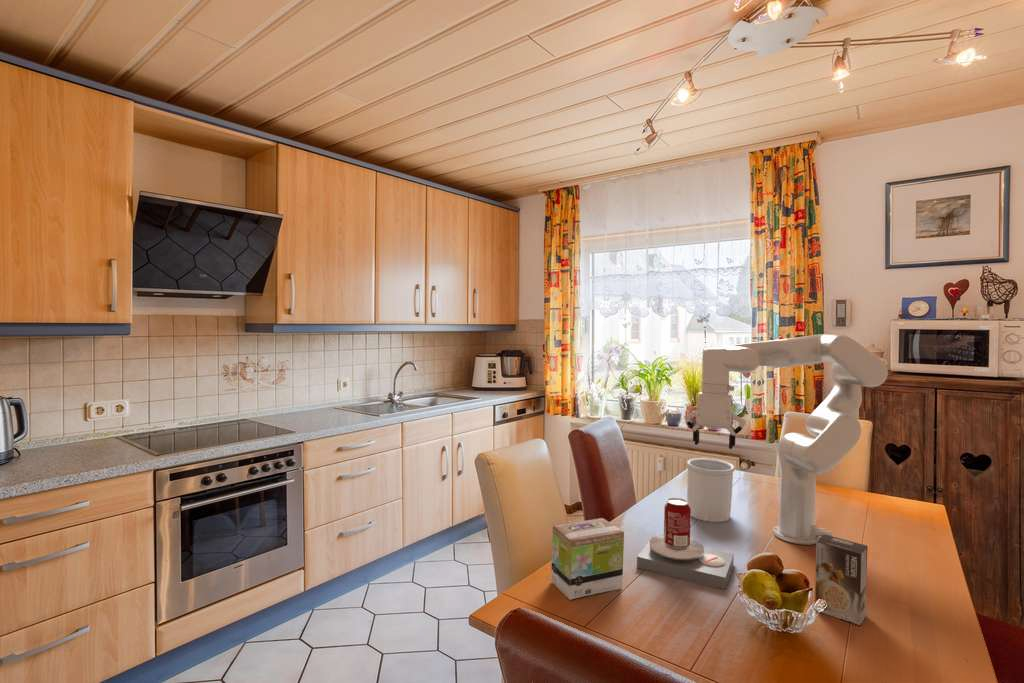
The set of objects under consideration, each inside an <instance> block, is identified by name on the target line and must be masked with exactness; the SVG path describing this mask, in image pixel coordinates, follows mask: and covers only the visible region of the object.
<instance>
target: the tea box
mask: <svg viewBox="0 0 1024 683" xmlns="http://www.w3.org/2000/svg"><path fill="white" fill-rule="evenodd" d="M551 539H552V540H551V541H552V544H551V569H550V570H551V571H550V575H551V576H550V582H551V583H552V584H553V585H554V586H555V587H556V588H557V589H558V590H559V591H560V592H561V593H562V594H563V595H564V596H565V597H566V598H568V600H569V601H571V600H575V599H578V598H583V597H589V596H592V595H596V594H602V593H606V592H612V591H617V590H622V588H623V577H624V576H623V575H624V547H625V531H623V530H622V529H620V528H619V527H617V526H616V525H614V524H613V523H611V522H610V521H608V520H607V519H605V518H603V517H599V518H593V519H589V520H588V519H586V520H580V521H575V522H568V523H561V524H555V525H552V538H551Z"/></svg>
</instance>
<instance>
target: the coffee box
mask: <svg viewBox="0 0 1024 683" xmlns="http://www.w3.org/2000/svg"><path fill="white" fill-rule="evenodd" d="M815 545H816V546H815V585H814V588H815V590H814V592H815V593H814V603H815V602H816V601H817V600H818V599H823V600H825V601H826V603H827V607H826V608H825V609H824V611H823V612H821V613H822V614H825V615H827V616H830V617H832V618H836V619H839V620H841V619H843V621H844V620H846V621H845V622H847V621H850V622H853V623H855V624H858V625H860V624H861V623H862V624H863V622H864V621H863V620H865V619H866V617H867V578H868V577H867V574H868V573H867V572H868V545H866V544H864V543H863V544H862V543H858V542H855V541H851V540H848V539H844V538H839V537H836V536H833V535H832V536H829V535H825V534H824V535H822V536H820V538H819V540H818V541H817V542H816V544H815ZM865 616H866V617H865ZM864 618H865V619H864ZM862 621H863V622H862ZM850 622H849V623H850ZM853 623H852V624H853ZM855 624H854V625H855ZM862 624H861V625H862ZM858 625H857V626H858Z"/></svg>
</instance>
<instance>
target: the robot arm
mask: <svg viewBox="0 0 1024 683" xmlns="http://www.w3.org/2000/svg"><path fill="white" fill-rule="evenodd" d="M822 363H823V364H824V363H829V364H832V365H831V376H832V389H831V391H830V393H829V394H828V395H827V396H826V398H825V399H824V400H823V401H822V402H821V403H820V404H819V405H818V406H817V407H816V408H815V409H813V411H812V412H811V413H810V414H809V415H808V416H807V418H806V421H805V429H806V431H807V432H808V433H809V434H810V435H811V436H809V435H807V434H803V433H800V432H789V433H785V434H784V435H782V436H781V438H780V440H779V441H778V445H777V454H778V460H779V470H780V471H779V472H780V474H779V475H780V476H779V477H780V480H779V503H778V504H779V505H778V506H779V507H778V525H775V526H774V527H773V528H772V534H773V535H774V536H775V537H776V538H778V539H780V540H782V541H785V542H788V543H791V544H794V545H795V544H797V545H804V546H805V545H806V546H807V545H808V546H811V545H816V542H817V541H818V540H819V538H820V537H821V536H822V535H824V534H825V535H829V536H833V532H832V531H829V530H828V529H827V528H824V527H823V528H822V527H819V526H816V521H815V516H816V515H815V514H816V490H817V488H816V487H817V485H816V484H817V483H816V482H817V481H816V479H817V478H816V475H821V474H825V473H828V472H829V471H831V470H832V469H834V468H835V467H836V465H838V463H840V462H841V461H842V460H843V459H844V457H846V456H847V454H848V453H849V452H850V451H851V450H852V449H853V448H854V447H855V446H856V445H857V443H858V442H859V440H860V438H861V434H862V425H861V424H860V421H859V420H858V419H857V418H856V417H855V416H854V415H855V414H856V413H857V412H858V410H859V409H860V407H861V405H862V403H863V402H862V401H863V396H862V387H867V388H874V387H875V388H876V387H878V386H881V385H882V384H884V383H885V381H886V380H887V378H888V377H889V376H888V372H889V370H888V368H887V366H886V364H885V363H884V362H883V360H882V359H881V358H880V357H878V356H877V355H875V354H874V353H873V352H871V351H870V350H868V349H867V348H866V347H865V346H863V345H862V344H860V342H857V341H856V340H855V339H853V338H851V337H849V336H847V335H844V334H832V333H831V334H830V333H823V334H822V333H821V334H820V333H819V334H813V335H806V336H799V337H791V338H782V339H774V340H773V339H772V340H766V341H756V342H755V341H754V342H746V343H739V344H731V345H727V346H725V347H713V346H712V347H711V346H710V347H705V348H704V349H703V350H702V364H701V367H702V368H701V391H699V393H698V396H697V397H698V398H697V404H696V410H695V411H692V412H689V413H687V414H685V415H684V416H683V418H684V420H685V422H686V424H687V426H688V427H689V428H690V429H691V431H692V441H693V442H694V446H697V445H699V443H700V430H699V428H700V427H707V428H717V429H727V431H728V432H729V433H730V434H729V437H728V439H729V440H728V449H730V450H733V447H736V435H737V434H738V433H740V432H742V430H743V428H744V426H745V425H746V423H747V421H746V420H745V419H743V418H741V417H740V416H738V415H736V414H734V401H733V396H732V394H731V393H730V392H734V391H735V386H734V385H733V386H732V385H731V384H730V372H735V373H742V374H748V373H752V372H755V371H756V370H757V369H758V368H759V367H772V368H773V367H774V368H794V367H799V366H806V365H814V364H822ZM693 417H695V423H696V424H695V423H694V422H693V421H692V419H691V418H693ZM734 421H735V422H737V423H738V426H737V427H734V426H733V425H734ZM814 437H815V438H814Z"/></svg>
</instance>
